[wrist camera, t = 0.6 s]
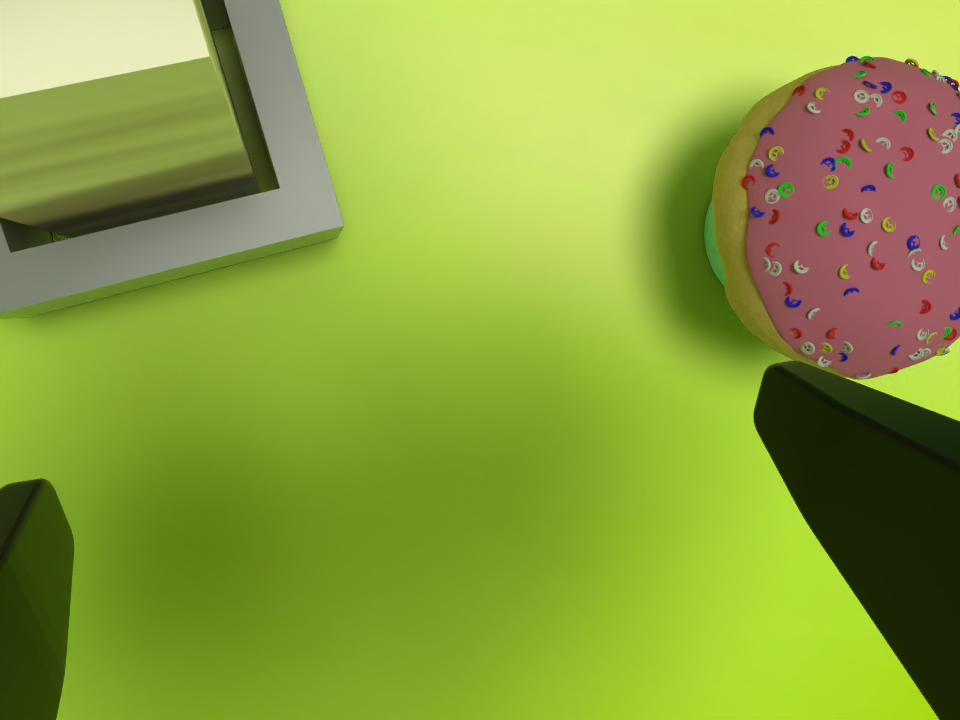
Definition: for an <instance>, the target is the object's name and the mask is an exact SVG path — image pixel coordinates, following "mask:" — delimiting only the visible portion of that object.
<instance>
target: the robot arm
mask: <svg viewBox="0 0 960 720" xmlns="http://www.w3.org/2000/svg"><path fill="white" fill-rule="evenodd" d="M754 424H755V427H756V430H757V432H758V434H759V436H760V438H761V440H762V442H763V443H764V445H765V447H766V449H767V451H768V453H769V455H770V456H771V458H772V460H773V462H774V464H775V466H776V468H777V470H778V471H779V473H780V475H781V477H782V479H783V481H784V483H785V485H786V486H787V488H788V490H789V492H790V494H791V496H792V498H793V500H794V501H795V503H796V505H797V507H798V509H799V510H800V512H801V514H802V516H803V517H804V519H805V521H806V522H807V524H808V525H809V527H810V529H811V530H812V532H813V533H814V535H815V536H816V538H817V539H818V541H819V542H820V544H821V545H822V547H823V548H824V550H825V551H826V553H827V554H828V556H829V557H830V559H831V560H832V561H833V563H834V564H835V566H836V567H837V569H838V570H839V572H840V573H841V575H842V576H843V578H844V579H845V581H846V582H847V584H848V585H849V587H850V588H851V590H852V591H853V593H854V594H855V596H856V597H857V598H858V600H859V601H860V603H861V604H862V606H863V607H864V609H865V610H866V612H867V613H868V615H869V616H870V618H871V619H872V621H873V622H874V624H875V625H876V627H877V628H878V630H879V631H880V633H881V634H882V636H883V637H884V638H885V640H886V641H887V643H888V644H889V646H890V647H891V649H892V650H893V652H894V653H895V655H896V656H897V658H898V659H899V661H900V662H901V664H902V665H903V667H904V668H905V670H906V671H907V673H908V674H909V676H910V677H911V678H912V680H913V681H914V683H915V684H916V686H917V687H918V689H919V690H920V692H921V693H922V695H923V696H924V698H925V699H926V701H927V702H928V704H929V705H930V707H931V708H932V710H933V711H934V713H935V714H936V716H937V717H938V718H939V720H960V421H957V420H955V419H952V418H949V417H947V416H944V415H941V414H939V413H936V412H933V411H931V410H928V409H925V408H923V407H920V406H918V405H915V404H912V403H910V402H907V401H904V400H902V399H899V398H896V397H894V396H891V395H888V394H886V393H883V392H880V391H878V390H875V389H872V388H870V387H867V386H865V385H862V384H859V383H857V382H854V381H851V380H849V379H846V378H843V377H841V376H838V375H835V374H833V373H830V372H827V371H825V370H822V369H820V368H817V367H814V366H812V365H809V364H806V363H804V362H801V361H788V362H782V363H775V364H772V365H770V366H768V367H767V369H766V370H765V372H764V374H763V378H762V382H761V385H760V389H759V393H758V397H757V401H756V405H755V409H754ZM73 559H74V540H73V534H72V531H71V528H70V525H69V523H68V520H67V518H66V516H65V513H64V511H63V508H62V506H61V503H60V501H59V499H58V496H57V494H56V491H55V489H54V487H53V485H52V484H51V483H50V482H49V481H48V480H45V479H35V480H28V481H22V482H15V483H10V484H7V485H5V486H4V487H2V488H1V489H0V720H56V718H57V713H58V708H59V703H60V698H61V693H62V687H63V681H64V675H65V665H66V655H67V642H68V628H69V614H70V601H71V587H72V573H73Z"/></svg>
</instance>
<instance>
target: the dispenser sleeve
mask: <svg viewBox="0 0 960 720" xmlns="http://www.w3.org/2000/svg"><path fill="white" fill-rule="evenodd" d="M201 3H202V6H203V9H204V12H205V15H206V18H207V21H208V24H209V27H210V30H216V29H221V28H226V27H230V30H231V33H232V36H233V40H234V43H235V46H236V50H237V53H238V56H239V60H240V63H241V66H242V70H243V73H244V77H245V80H246V83H247V87H248V90H249V93H250V97H251V100H252V103H253V107H254V110H255V113H256V117H257V120H258V123H259V127H260V130H261V133H262V137H263V140H264V143H265V147H266V150H267V153H268V157H269V160H270V163H271V167H272V170H273V173H274V177H275V180H276V183H277V187H278V189H275V190H271V191H267V192H263V193H258V194H254V195H250V196H246V197H242V198H238V199H233V200H229V201H225V202H221V203H217V204H212V205H208V206H204V207H200V208H196V209H192V210H187V211H183V212H179V213H175V214H171V215H167V216H162V217H158V218H154V219H150V220H146V221H141V222H137V223H133V224H129V225H125V226H121V227H116V228H112V229H108V230H104V231H100V232H95V233H91V234H87V235H83V236H79V237H75V238H70V239H66V240H62V241H58V242H54V243H53V240H52V237H51V234H50V232H49V231H46V230H42V229H39V228H35V227H32V226H29V225H25V224H22V223H18V222H15V221H11V220H8V219H4V218H1V217H0V319H6V318H27V317H31V316H35V315H39V314H43V313H47V312H51V311H55V310H59V309H63V308H66V307H70V306H74V305H78V304H82V303H86V302H90V301H94V300H98V299H101V298H105V297H109V296H113V295H117V294H121V293H125V292H129V291H133V290H137V289H140V288H144V287H148V286H152V285H156V284H160V283H164V282H168V281H172V280H176V279H179V278H183V277H187V276H191V275H195V274H199V273H203V272H207V271H211V270H214V269H218V268H222V267H226V266H230V265H234V264H238V263H242V262H246V261H250V260H253V259H257V258H261V257H265V256H269V255H273V254H277V253H281V252H285V251H288V250H292V249H296V248H300V247H304V246H308V245H312V244H316V243H320V242H324V241H327V240H331V239H335V238H338V236H339V234H340V232H341V230H342V228H343V226H344V224H343V220H342V217H341V213H340V210H339V206H338V203H337V199H336V196H335V193H334V189H333V186H332V182H331V179H330V175H329V172H328V168H327V165H326V162H325V158H324V155H323V151H322V148H321V144H320V141H319V137H318V134H317V131H316V127H315V124H314V120H313V117H312V113H311V110H310V106H309V103H308V100H307V96H306V93H305V89H304V86H303V82H302V79H301V75H300V72H299V69H298V65H297V62H296V58H295V55H294V51H293V48H292V44H291V41H290V37H289V34H288V31H287V27H286V24H285V20H284V17H283V13H282V10H281V6H280V3H279V0H201Z"/></svg>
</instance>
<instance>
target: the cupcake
mask: <svg viewBox="0 0 960 720" xmlns="http://www.w3.org/2000/svg"><path fill="white" fill-rule="evenodd" d="M852 59H854V60H852ZM911 62H912V63H914V64H915V65H913V64H912V63H911ZM908 63H910V64H911V65H909V64H908ZM918 67H919V64H918V62H917V61H916V60H914V59H907V60H906V61H905V63H903V62H900V61H896V60H893V59H889V58H883V57H869V56H864V57H862V58H861V59H859V58H857V57H855V56H850V57H848V58H847V59H846V62H845V63H843V64H841V65H837V66H831V67H827V68H823V69H819V70H816V71H813V72H811V73H808V74H806V75H804V76H802V77H800V78H798V79H796V80H794V81H792V82H790V83H788V84H786V85H784V86H782V87H781V88H779V89H777V90H775V91H774V92H772V93H770V94H769V95H767V96H765V97H764V98H762V99H761V100H760V101H759V102H757V103H756V104H755V105H754V106H753V107H752V108H751V110H750V111H749V112H748V113H747V115H746V116H745V118H744V120H743V122H742V124H741V126H740V128H739V129H738V131H737V132H736V134H735V135H734V137H733V138H732V139H731V141H730V142H729V144H728V146H727V147H726V149H725V150H724V152H723V154H722V156H721V158H720V160H719V162H718V165H717V168H716V172H715V177H714V184H713V191H712V200H711V202H710V204H709V207H708V211H707V214H706V219H705V228H704V239H705V248H706V252H707V256H708V259H709V262H710V265H711V267H712V269H713V271H714V273H715V275H716V276H717V278H718V279H719V280H720V282H721V283H722V284H723V285H724V287H725V293H726V297H727V300H728V302H729V304H730V306H731V307H732V309H733V310H734V312H735V313H736V315H737V316H738V318H739V319H740V321H741V322H742V323H743V325H744V326H745V327H746V328H747V329H748V330H749V331H750V332H751V333H753V334H754V335H755V336H756V337H757V338H759V339H760V340H761V341H762V342H764V343H765V344H767V345H768V346H769V347H771V348H773V349H774V350H776V351H778V352H779V353H781V354H783V355H785V356H787V357H789V358H790V359H792V360H794V361H801V362H804V363H806V364H809V365H812V366H814V367H817V368H820V369H822V370H825V371H827V372H830V373H833V374H835V375H838V376H841V377H843V378H846V377H849V378H852V379H870V378H874V377H878V376H882V375H885V374H892V373H896V372H898V371H899V370H901V369H903V368H906V367H909V366H912V365H915V364H917V363H920V362H923V361H925V360H928V359H930V358H932V357H934V356H935V355H936V356H942V355H945V354H947V353H949V352H950V350H949V349H947V347H948V346H950V345H951V344H952V343H953V342H954V341H956V340H957V339H958V338H959V337H960V91H959V90H958V87H959V83H958V81H956V80H954V79H951V78H950V77H948V76H942V75H939V73H938V72H937V71H936V70H933V71H932V73H930V72H928V71H927V70H925V69H921V68H918ZM946 79H947V81H946ZM951 83H954V84H955V85H954V84H952V85H951ZM949 84H950V85H949Z"/></svg>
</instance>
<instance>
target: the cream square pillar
mask: <svg viewBox="0 0 960 720" xmlns="http://www.w3.org/2000/svg"><path fill="white" fill-rule="evenodd" d="M258 193H260V190H259V187H258V183H257V180H256V177H255V173H254V170H253V167H252V164H251V160H250V157H249V154H248V150H247V147H246V144H245V140H244V137H243V134H242V131H241V127H240V124H239V121H238V117H237V114H236V111H235V108H234V104H233V101H232V98H231V94H230V91H229V88H228V84H227V81H226V78H225V75H224V71H223V68H222V65H221V61H220V58H219V55H218V51H217V48H216V45H215V42H214V39H213V36H212V33H211V30H210V27H209V24H208V21H207V18H206V15H205V12H204V9H203V6H202V3H201V0H0V217H1V218H4V219H8V220H11V221H15V222H18V223H22V224H25V225H29V226H32V227H35V228H39V229H42V230H46V231H49V232H53V233H56V234H59V235H63V236H66V237H70V238H75V237H79V236H83V235H87V234H91V233H95V232H100V231H104V230H108V229H112V228H116V227H121V226H125V225H129V224H133V223H137V222H141V221H146V220H150V219H154V218H158V217H162V216H167V215H171V214H175V213H179V212H183V211H187V210H192V209H196V208H200V207H204V206H208V205H212V204H217V203H221V202H225V201H229V200H233V199H238V198H242V197H246V196H250V195H254V194H258Z"/></svg>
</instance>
